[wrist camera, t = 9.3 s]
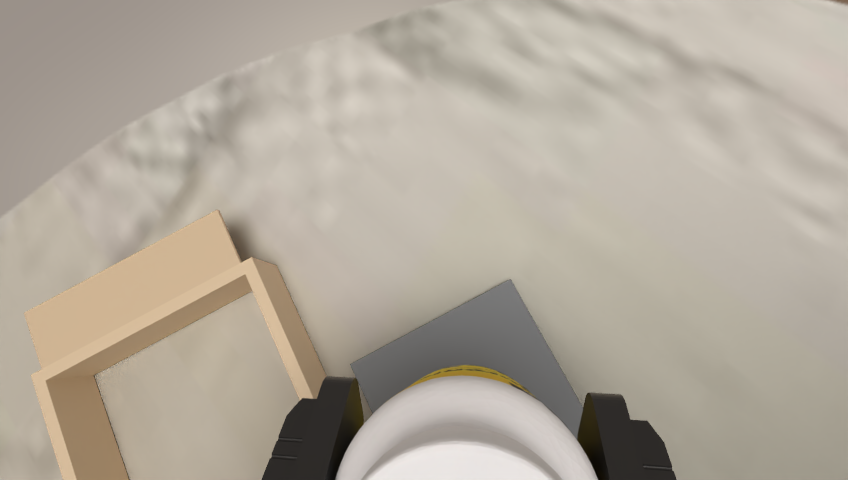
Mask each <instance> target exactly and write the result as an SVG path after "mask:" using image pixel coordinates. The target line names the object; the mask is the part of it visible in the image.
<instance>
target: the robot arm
mask: <svg viewBox="0 0 848 480" xmlns="http://www.w3.org/2000/svg"><path fill="white" fill-rule="evenodd" d="M363 424H364V419H363V411H362V405H361V399H360V393H359V387H358V381H357V379H356V378H345V377H328V376H327V377H325V379H324V380H323V382H322V385H321V388H320V391H319V394H318V397H317V399H310V398H302V399H301V400H300V401H299V402H298V403H297V405H296V406H295V407H294V408H293V409H292V410H291V411H290V413H289V414H288V415H287V416H286V419H285V421H284V424H283V427H282V429H281V432H280V434H279V439H278V441H277V442H276V444H275V447H274V450H273V452H272V457H271V458H270V460H269V462H268V465H267V467H266V470H265V473H264V475H263V478H262V480H335V479H336V475H337V472H338V469H339V466H340V464H341V461H342V459H343V457H344V454H345V452H346V450H347V448H348V447H349V445H350V443H351V441H352V440H353V438H354V437H355V435H356V434H357V432H358V431H359V429H360V428H361V427H362V426H363ZM577 441H578V442H579V444H580V445H581V447H582V449H583V450H584V452H585V453H586V455H587V457H588V459H589V461H590V463H591V465H592V467H593V469H594V471H595V473H596V476H597V478H598V480H676V477H675V474H674V471H672V465H671V462H670V459H669V456H668V453H667V450H666V447H665V444H664V442H663V441H662V439H661V438H660V437H659V435H658V434H657V433H656V432H655V430H654V429H653V428H652V426H651V425H650V424H649V423H648V421H640V420H630V417H629V413H628V410H627V406H626V403H625V400H624V398H623V396H622V395H619V394H602V393H587V395H586V398H585V403H584V407H583V412H582V416H581V420H580V425H579V429H578V436H577Z"/></svg>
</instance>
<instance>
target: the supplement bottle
mask: <svg viewBox="0 0 848 480" xmlns="http://www.w3.org/2000/svg"><path fill="white" fill-rule="evenodd" d="M335 480H598V478H597V476H596V473H595V471H594V469H593V467H592V465H591V463H590V461H589V459H588V457H587V455H586V453H585V452H584V450H583V449H582V447H581V445H580V444H579V442H578V441H577V440H576V438H575V437H574V435H573V434H572V433H571V431H570V430H569V429H568V428H567V426H566V425H565V424H564V423H563V422H562V421H561V419H560V418H559V417H558V416H556V415H555V414H554V413H553V412H552V410H550V409H549V408H548V407H547V406H546V405H545V404H544V403H542V402H541V401H539V400H538V399H537V398H536V397H534V396H533V395H532V394H531V393H530V392H529V391H528V389H526V388H525V387H524V386H522V385H521V384H519V383H518V382H517V381H515V380H514V379H513V378H511V377H509V376H507V375H505V374H503V373H501V372H499V371H496V370H494V369H491V368H488V367H483V366H478V365H456V366H450V367H445V368H442V369H440V370H437V371H434V372H432V373H430V374H428V375H426V376H424V377H423V378H421V379H419V380H418V381H416V382H415V383H413V384H412V385H410V386H409V387H407V388H406V389H404V390H403V391H401V392H399V393H398V394H396V395H395V396H393V397H392V398H390V399H389V400H388V401H387V402H385V403H384V404H383V405H382V406H381V407H379V408H378V409H377V410H376V411H375V412H374V413H373V414H372V415H371V417H370V418H369V419H368V420H367V421H366V422H365V423H364V424H363V426H362V427H361V428H360V429H359V431H358V432H357V434H356V435H355V437H354V438H353V440H352V441H351V443H350V445H349V447H348V448H347V450H346V452H345V454H344V457H343V459H342V461H341V464H340V466H339V469H338V472H337V475H336V479H335Z"/></svg>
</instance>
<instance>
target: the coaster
mask: <svg viewBox="0 0 848 480" xmlns="http://www.w3.org/2000/svg"><path fill="white" fill-rule="evenodd" d="M350 365H351V367H352V370H353V372H354V374H355V376H356V378H357V380H358V383H359V385H360V387H361V389H362V391H363V393H364V396H365V398H366V400H367V402H368V404H369V406H370V408H371V411H372V413H374V412H375V411H376V410H377V409H378V408H379V407H381V406H382V405H383V404H384V403H385V402H387V401H388V400H389V399H390V398H392V397H393V396H395V395H396V394H398V393H399V392H401V391H403V390H404V389H406V388H407V387H409V386H410V385H412V384H413V383H415V382H416V381H418V380H419V379H421V378H423V377H424V376H426V375H428V374H430V373H432V372H434V371H437V370H440V369H442V368H445V367H450V366H456V365H478V366H483V367H488V368H491V369H494V370H496V371H499V372H501V373H503V374H505V375H507V376H509V377H511V378H513V379H514V380H515V381H517V382H518V383H519V384H521V385H522V386H524V387H525V388H526V389H528V391H529V392H530V393H531V394H532V395H533V396H534V397H536V398H537V399H538V400H539V401H541V402H542V403H544V404H545V405H546V406H547V407H548V408H549V409H550V410H552V412H553V413H554V414H555V415H556V416H558V417H559V418H560V419H561V421H562V422H563V423H564V424H565V425H566V426H567V428H568V429H569V430H570V431H571V433H572V434H573V435H574V437H575V438H576V440H577V436H578V429H579V425H580V420H581V416H582V412H583V407H582V405H581V403H580V402H579V400H578V398H577V396H576V395H575V393H574V391H573V389H572V387H571V386H570V384H569V382H568V380H567V379H566V377H565V375H564V373H563V371H562V370H561V368H560V366H559V364H558V363H557V361H556V359H555V357H554V356H553V354H552V352H551V350H550V348H549V347H548V345H547V343H546V341H545V340H544V338H543V336H542V334H541V332H540V331H539V329H538V327H537V325H536V324H535V322H534V320H533V318H532V316H531V315H530V313H529V311H528V309H527V308H526V306H525V304H524V302H523V300H522V299H521V297H520V295H519V293H518V292H517V290H516V288H515V286H514V284H513V283H512V281H511V279H510V280H508V281H506V282H504V283H502V284H500V285H499V286H497V287H495V288H493V289H491V290H489V291H487V292H485V293H483V294H482V295H480V296H478V297H476V298H474V299H472V300H470V301H468V302H467V303H465V304H463V305H461V306H459V307H457V308H455V309H453V310H451V311H450V312H448V313H446V314H444V315H442V316H440V317H438V318H436V319H435V320H433V321H431V322H429V323H427V324H425V325H423V326H421V327H419V328H418V329H416V330H414V331H412V332H410V333H408V334H406V335H404V336H403V337H401V338H399V339H397V340H395V341H393V342H391V343H389V344H387V345H386V346H384V347H382V348H380V349H378V350H376V351H374V352H372V353H371V354H369V355H367V356H365V357H363V358H361V359H359V360H357V361H355V362H354V363H352V364H350Z"/></svg>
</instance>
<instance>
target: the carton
mask: <svg viewBox="0 0 848 480" xmlns="http://www.w3.org/2000/svg"><path fill="white" fill-rule="evenodd" d="M251 291H253V293H254V296H255V298H256V300H257V303H258V305H259V307H260V309H261V312H262V314H263V316H264V319H265V321H266V323H267V326H268V328H269V330H270V333H271V335H272V337H273V340H274V342H275V344H276V346H277V349H278V351H279V353H280V356H281V358H282V360H283V363H284V365H285V367H286V370H287V372H288V374H289V377H290V379H291V381H292V383H293V386H294V388H295V390H296V393H297V395H298V397H299V400H301V399H302V398H310V399H317V397H318V394H319V391H320V388H321V385H322V382H323V380H324V379H325V377H327V376H326V374H325V372H324V370H323V367H322V365H321V363H320V361H319V359H318V356H317V354H316V352H315V350H314V347H313V345H312V343H311V341H310V339H309V336H308V334H307V332H306V330H305V327H304V325H303V323H302V321H301V319H300V316H299V314H298V312H297V310H296V307H295V305H294V303H293V301H292V299H291V296H290V294H289V292H288V290H287V287H286V285H285V283H284V281H283V279H282V276H281V274H280V272H279V270H278V267H277V266H276V265H273V264H270V263H267V262H265V261H262V260H259V259H256V258H253V257H251V258H249V259H247V260H245V261H243V262H241V259H240V257H239V255H238V252H237V250H236V248H235V245H234V243H233V241H232V238H231V236H230V234H229V232H228V229H227V227H226V225H225V222H224V220H223V218H222V215H221V213H220V211H219V210H216V211H214V212H212V213H210V214H208V215H206V216H204V217H202V218H201V219H199V220H197V221H195V222H193V223H191V224H189V225H187V226H186V227H184V228H182V229H180V230H178V231H176V232H174V233H173V234H171V235H169V236H167V237H165V238H163V239H161V240H159V241H158V242H156V243H154V244H152V245H150V246H148V247H146V248H144V249H143V250H141V251H139V252H137V253H135V254H133V255H131V256H130V257H128V258H126V259H124V260H122V261H120V262H118V263H116V264H115V265H113V266H111V267H109V268H107V269H105V270H103V271H101V272H100V273H98V274H96V275H94V276H92V277H90V278H88V279H87V280H85V281H83V282H81V283H79V284H77V285H75V286H73V287H72V288H70V289H68V290H66V291H64V292H62V293H60V294H58V295H57V296H55V297H53V298H51V299H49V300H47V301H45V302H43V303H42V304H40V305H38V306H36V307H34V308H32V309H30V310H29V311H27V312H25V313H24V315H25V318H26V321H27V324H28V327H29V331H30V334H31V337H32V340H33V343H34V346H35V350H36V353H37V356H38V359H39V362H40V365H41V368H42V369H41V370H39V371H37V372H35V373H33V374H32V375H31V378H32V381H33V384H34V387H35V390H36V394H37V397H38V400H39V403H40V407H41V410H42V413H43V416H44V420H45V423H46V426H47V429H48V432H49V436H50V439H51V442H52V445H53V449H54V452H55V455H56V458H57V461H58V465H59V468H60V471H61V474H62V478H63V480H129V478H128V475H127V472H126V469H125V466H124V463H123V460H122V458H121V455H120V452H119V449H118V446H117V443H116V440H115V437H114V434H113V431H112V428H111V425H110V422H109V419H108V416H107V413H106V410H105V408H104V405H103V402H102V399H101V396H100V393H99V390H98V387H97V384H96V381H95V378H94V375H95V374H97V373H99V372H101V371H103V370H105V369H107V368H108V367H110V366H112V365H114V364H116V363H118V362H120V361H122V360H123V359H125V358H127V357H129V356H131V355H133V354H135V353H137V352H138V351H140V350H142V349H144V348H146V347H148V346H150V345H152V344H153V343H155V342H157V341H159V340H161V339H163V338H165V337H167V336H168V335H170V334H172V333H174V332H176V331H178V330H180V329H182V328H183V327H185V326H187V325H189V324H191V323H193V322H195V321H197V320H198V319H200V318H202V317H204V316H206V315H208V314H210V313H212V312H213V311H215V310H217V309H219V308H221V307H223V306H225V305H227V304H228V303H230V302H232V301H234V300H236V299H238V298H240V297H242V296H243V295H245V294H247V293H249V292H251Z"/></svg>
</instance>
